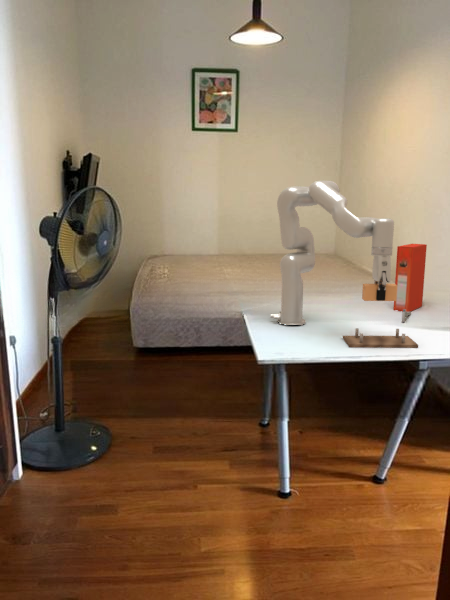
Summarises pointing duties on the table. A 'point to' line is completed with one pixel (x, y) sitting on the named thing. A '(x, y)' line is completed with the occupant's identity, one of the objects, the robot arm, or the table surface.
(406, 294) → the file binder
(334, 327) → the table surface
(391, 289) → the jaw block
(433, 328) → the table surface
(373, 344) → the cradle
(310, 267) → the robot arm
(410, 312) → the caliper
